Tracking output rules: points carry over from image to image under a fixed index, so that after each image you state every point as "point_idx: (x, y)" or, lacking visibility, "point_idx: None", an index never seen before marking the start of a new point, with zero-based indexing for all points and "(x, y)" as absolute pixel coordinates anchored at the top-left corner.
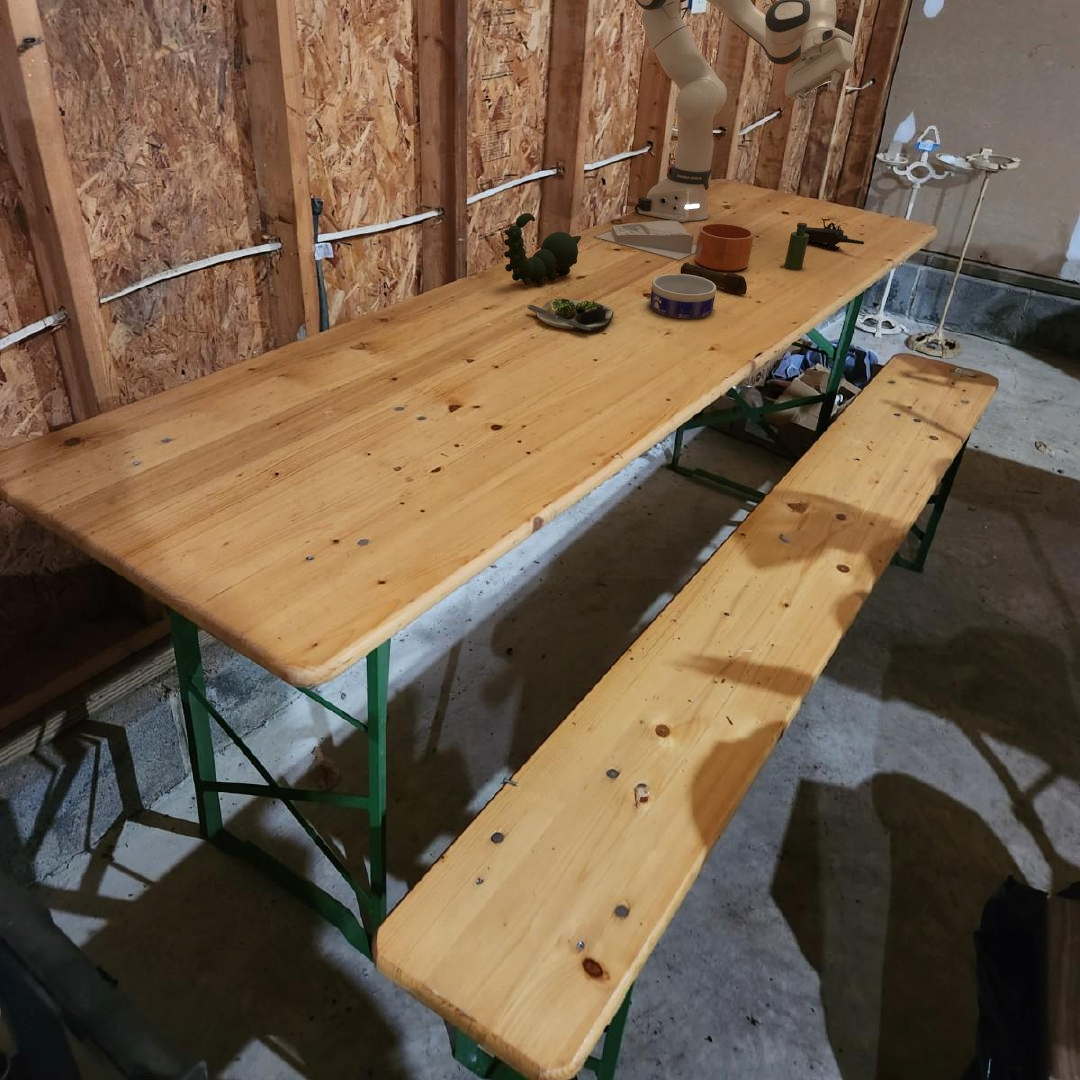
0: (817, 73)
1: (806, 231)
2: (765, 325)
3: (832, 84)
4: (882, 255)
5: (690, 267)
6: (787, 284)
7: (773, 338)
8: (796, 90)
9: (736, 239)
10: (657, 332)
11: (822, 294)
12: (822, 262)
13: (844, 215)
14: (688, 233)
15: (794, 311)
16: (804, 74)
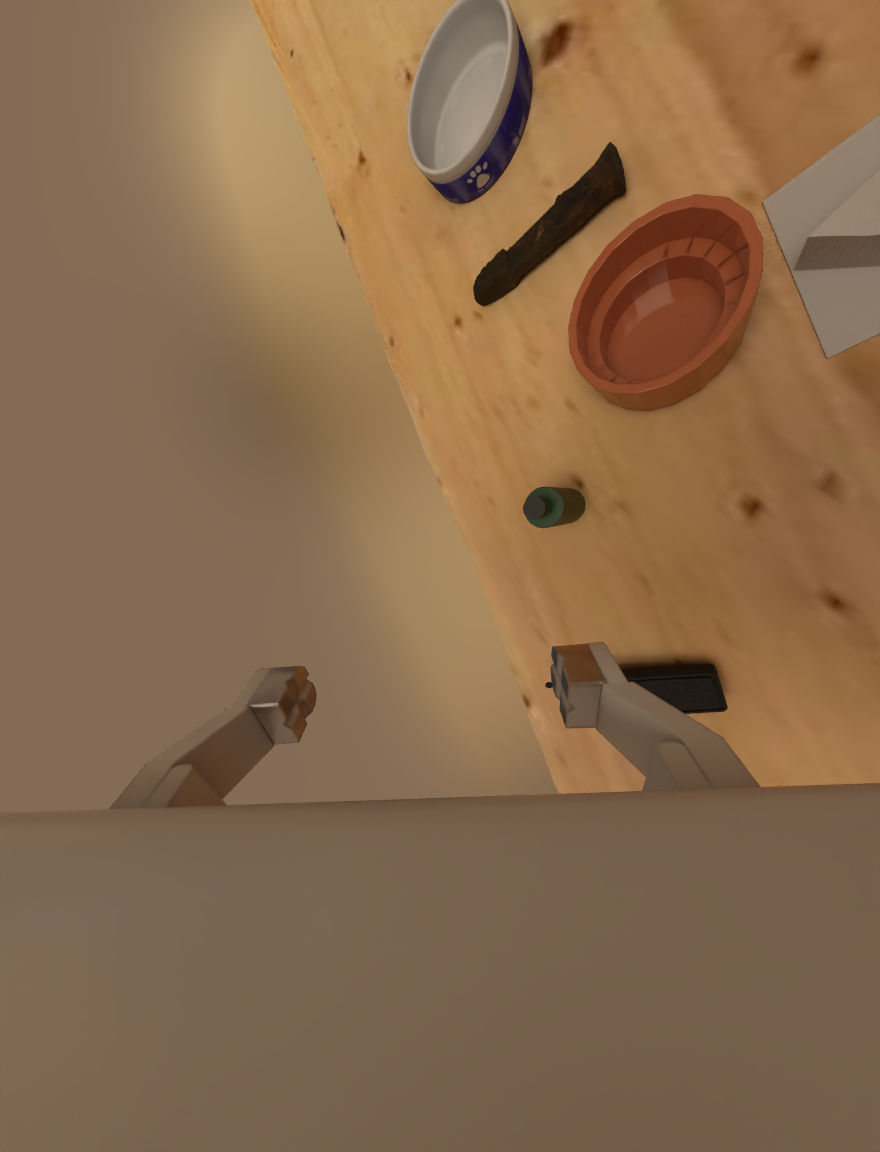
0: (286, 871)
1: (689, 672)
2: (395, 288)
3: (239, 700)
4: (549, 719)
5: (590, 170)
6: (501, 429)
7: (366, 280)
8: (737, 788)
9: (573, 303)
10: (415, 53)
11: (451, 460)
12: (565, 586)
13: None
14: (875, 234)
15: (417, 367)
16: (647, 1125)
